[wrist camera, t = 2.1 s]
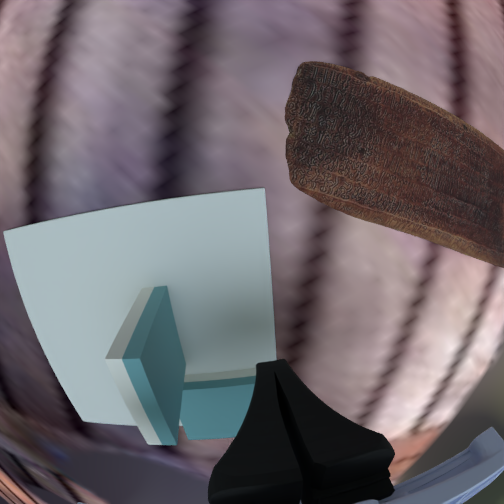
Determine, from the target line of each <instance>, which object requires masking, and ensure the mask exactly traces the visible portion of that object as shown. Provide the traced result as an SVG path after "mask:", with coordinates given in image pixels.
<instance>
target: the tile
mask: <svg viewBox="0 0 504 504" xmlns="http://www.w3.org/2000/svg"><path fill="white" fill-rule="evenodd" d="M105 361H106V364H107V366H108V368H109V370H110V373H111V375H112V377H113V379H114V381H115V384H116V386H117V388H118V390H119V392H120V394H121V396H122V398H123V400H124V402H125V404H126V406H127V408H128V410H129V412H130V414H131V415H132V417H133V419H134V421H135V423H136V425H137V426H138V428H139V430H140V432H141V433H142V435H143V437H144V439H145V440H146V442H147V444H149V445H177V440H178V430H179V420H180V411H181V402H182V393H183V385H184V377H185V369H186V362H185V358H184V354H183V351H182V347H181V343H180V339H179V335H178V331H177V327H176V323H175V319H174V315H173V310H172V306H171V302H170V297H169V293H168V288H167V286H158V287H148V288H142V289H141V291H140V293H139V294H138V296H137V298H136V300H135V302H134V303H133V305H132V307H131V309H130V311H129V313H128V315H127V316H126V318H125V320H124V322H123V324H122V326H121V328H120V330H119V332H118V333H117V335H116V337H115V339H114V341H113V343H112V345H111V347H110V349H109V351H108V353H107V355H106V357H105Z"/></svg>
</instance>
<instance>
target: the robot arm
mask: <svg viewBox="0 0 504 504" xmlns="http://www.w3.org/2000/svg"><path fill="white" fill-rule="evenodd" d="M394 455H395V452H394V450H393V448H392V446H391V444H390V443H389V442H388V440H387V439H386V438H385V436H384V435H383V434H380V433H377V432H375V431H372V430H369V429H367V428H364V427H362V426H360V425H358V424H356V423H354V422H352V421H351V420H349V419H347V418H345V417H344V416H342V415H340V414H339V413H337V412H336V411H334V410H333V409H332V408H330V407H329V406H328V405H326V404H325V403H324V402H323V401H321V400H320V399H319V398H318V397H317V396H316V395H315V394H314V393H313V392H312V391H311V390H310V389H309V388H308V387H307V386H306V385H305V384H304V383H303V382H302V381H301V380H300V379H299V377H298V376H297V375H296V374H295V373H294V371H293V370H292V369H291V367H290V366H289V364H288V363H287V361H286V360H285V359H281V360H274V361H267V362H260V363H257V364H256V379H255V386H254V390H253V395H252V398H251V402H250V405H249V408H248V411H247V414H246V416H245V418H244V421H243V423H242V425H241V427H240V429H239V431H238V433H237V435H236V437H235V439H234V440H233V442H232V443H231V445H230V446H229V448H228V450H227V451H226V453H225V454H224V455H223V457H222V458H221V459H220V460H219V462H218V463H217V464H216V465H215V467H214V469H213V471H212V474H211V477H210V481H209V486H208V501H209V503H210V504H462V503H464V502H465V501H467V500H468V499H469V498H471V497H472V496H473V495H475V494H476V493H478V492H479V491H480V490H482V489H483V488H485V487H486V486H487V485H489V484H490V483H491V482H492V481H493V480H494V479H495V478H496V477H497V476H498V475H499V474H500V473H501V472H502V471H503V470H504V441H503V439H502V438H501V437H500V436H499V434H498V433H497V432H496V431H495V429H494V428H493V427H490V428H489V429H488V430H486V431H485V432H483V433H482V434H480V435H479V436H477V437H476V438H475V439H474V440H473V441H472V442H471V444H470V445H469V448H467V449H465V450H464V451H462V452H461V453H459V454H457V455H455V456H454V457H452V458H450V459H449V460H447V461H445V462H443V463H441V464H440V465H438V466H436V467H434V468H432V469H430V470H428V471H426V472H424V473H422V474H420V475H418V476H416V477H414V478H411V479H409V480H407V481H405V482H402V483H400V484H397V485H395V486H393V485H392V483H391V481H390V479H389V477H390V476H391V475H390V472H389V470H388V467H389V465H390V464H391V462H392V460H393V458H394ZM77 504H85V503H81V502H78V503H77Z"/></svg>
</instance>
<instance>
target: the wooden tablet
mask: <svg viewBox="0 0 504 504" xmlns="http://www.w3.org/2000/svg"><path fill="white" fill-rule="evenodd" d="M285 121H286V124H287V125H288V129H289V132H290V133H289V135H288V137H287V139H286V159H287V163H288V168H289V176H290V181H291V183H292V184H293V185H294V186H295V187H296V188H297V189H299V190H300V191H302V192H304V193H305V194H307V195H309V196H311V197H313V198H315V199H316V200H318V201H319V202H321V203H324V204H326V205H328V206H330V207H331V208H333V209H336V210H338V211H341V212H343V213H345V214H347V215H350V216H353V217H356V218H359V219H362V220H365V221H368V222H372V223H376V224H379V225H382V226H385V227H389V228H392V229H395V230H398V231H402V232H404V233H408V234H411V235H414V236H418V237H420V238H423V239H426V240H429V241H431V242H434V243H436V244H439V245H442V246H444V247H447V248H450V249H453V250H455V251H458V252H460V253H463V254H465V255H468V256H472V257H474V258H476V259H480V260H483V261H485V262H488V263H491V264H494V265H496V266H499V267H502V268H504V150H503V149H502V148H501V147H499V146H498V145H497V144H495V143H494V142H493V141H492V140H491V139H489V138H488V137H486V136H485V135H484V134H483V133H481V132H480V131H479V130H477V129H475V128H474V127H472V126H471V125H469V124H467V123H466V122H464V121H463V120H461V119H459V118H457V117H456V116H454V115H453V114H451V113H449V112H448V111H446V110H444V109H442V108H440V107H438V106H437V105H435V104H433V103H431V102H429V101H427V100H425V99H423V98H421V97H419V96H417V95H415V94H413V93H410V92H408V91H406V90H404V89H402V88H400V87H397V86H395V85H392V84H390V83H388V82H386V81H383V80H381V79H379V78H376V77H373V76H372V77H368V76H366V75H365V74H364V73H362V72H359V71H355V70H352V69H349V68H346V67H343V66H338V65H335V64H330V63H324V62H314V61H310V62H304V63H302V64H301V65H300V66H299V67H298V71H297V74H296V76H295V77H294V80H293V85H292V91H291V94H290V96H289V98H288V101H287V103H286V107H285Z"/></svg>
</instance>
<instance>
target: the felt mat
mask: <svg viewBox="0 0 504 504" xmlns="http://www.w3.org/2000/svg"><path fill="white" fill-rule="evenodd" d="M4 237H5V241H6V246H7V250H8V253H9V257H10V261H11V265H12V268H13V271H14V275H15V278H16V281H17V284H18V287H19V290H20V293H21V296H22V299H23V302H24V305H25V307H26V310H27V313H28V315H29V318H30V320H31V323H32V325H33V328H34V330H35V332H36V335H37V337H38V339H39V342H40V344H41V346H42V348H43V350H44V352H45V354H46V357H47V359H48V361H49V363H50V365H51V367H52V369H53V370H54V372H55V374H56V376H57V378H58V380H59V382H60V383H61V385H62V387H63V389H64V391H65V392H66V394H67V396H68V397H69V399H70V401H71V402H72V404H73V406H74V407H75V409H76V411H77V412H78V414H79V415H80V417H81V418H82V420H83V421H86V422H95V423H105V424H118V425H136V423H135V421H134V419H133V417H132V415H131V414H130V412H129V410H128V408H127V406H126V404H125V402H124V400H123V398H122V396H121V394H120V392H119V390H118V388H117V386H116V384H115V381H114V379H113V377H112V375H111V373H110V370H109V368H108V366H107V364H106V361H105V357H106V355H107V353H108V351H109V349H110V347H111V345H112V343H113V341H114V339H115V337H116V335H117V333H118V332H119V330H120V328H121V326H122V324H123V322H124V320H125V318H126V316H127V315H128V313H129V311H130V309H131V307H132V305H133V303H134V302H135V300H136V298H137V296H138V294H139V293H140V291H141V289H142V288H148V287H158V286H167V288H168V293H169V297H170V302H171V306H172V310H173V315H174V319H175V323H176V327H177V331H178V335H179V339H180V343H181V347H182V351H183V354H184V358H185V362H186V369H185V375H191V374H204V373H216V372H226V371H236V370H244V369H252V368H256V364H257V363H260V362H267V361H274V360H276V342H275V326H274V310H273V294H272V279H271V265H270V251H269V237H268V224H267V211H266V199H265V188H254V189H243V190H234V191H225V192H216V193H207V194H199V195H192V196H184V197H177V198H169V199H163V200H156V201H149V202H143V203H137V204H131V205H125V206H119V207H113V208H107V209H102V210H96V211H91V212H86V213H81V214H76V215H71V216H66V217H61V218H57V219H52V220H48V221H43V222H39V223H34V224H30V225H26V226H22V227H18V228H14V229H10V230H6V231H4ZM136 426H137V425H136ZM179 426H183V425H182V423H181V420H179Z"/></svg>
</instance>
